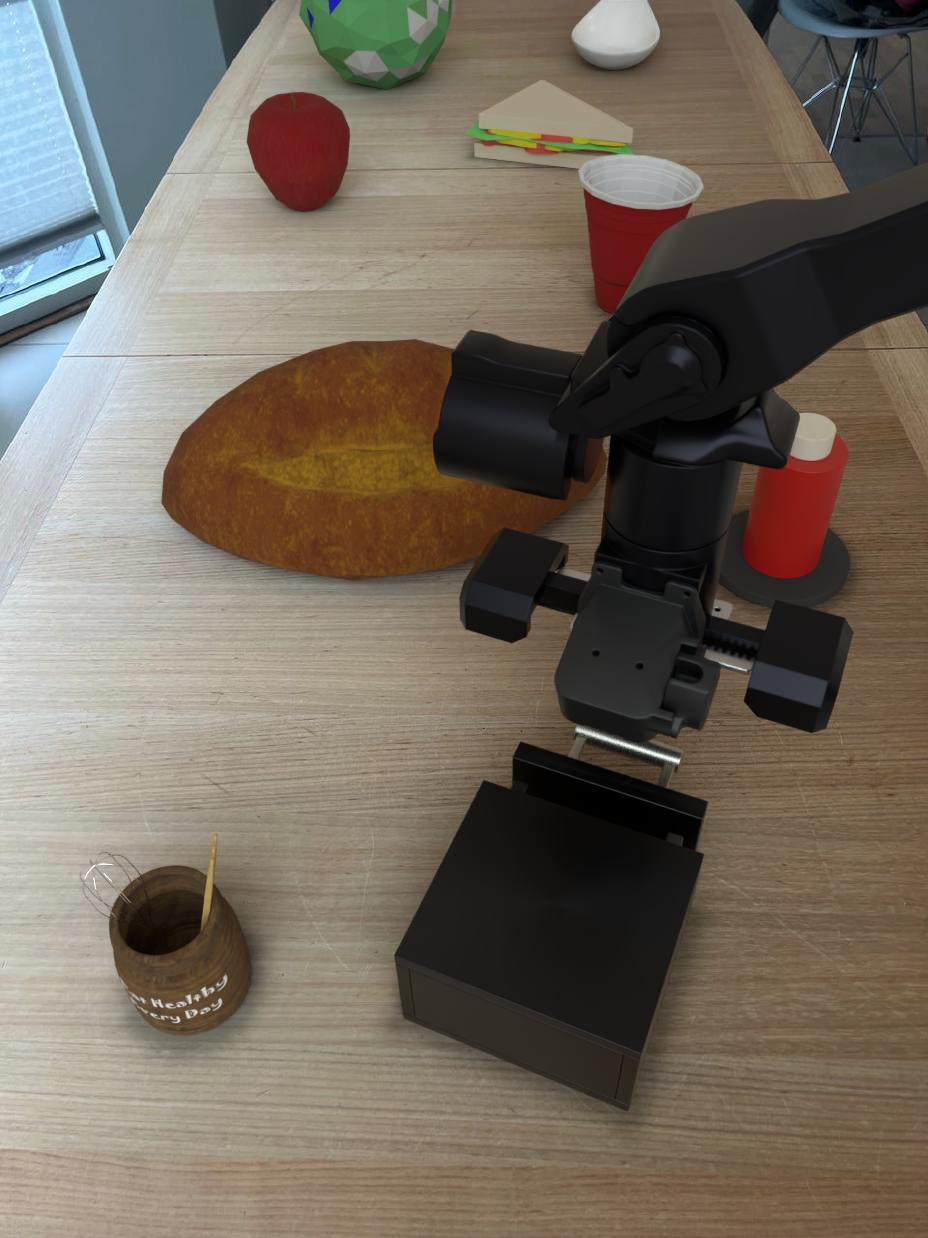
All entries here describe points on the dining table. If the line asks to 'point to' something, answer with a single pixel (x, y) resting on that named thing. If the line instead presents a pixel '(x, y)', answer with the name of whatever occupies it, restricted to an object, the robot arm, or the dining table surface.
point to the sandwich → (548, 129)
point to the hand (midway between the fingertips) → (634, 727)
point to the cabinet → (549, 941)
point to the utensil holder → (178, 947)
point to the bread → (341, 469)
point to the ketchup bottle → (796, 502)
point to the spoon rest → (617, 34)
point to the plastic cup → (630, 214)
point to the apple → (299, 148)
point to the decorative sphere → (378, 37)
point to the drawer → (613, 785)
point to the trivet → (794, 590)
